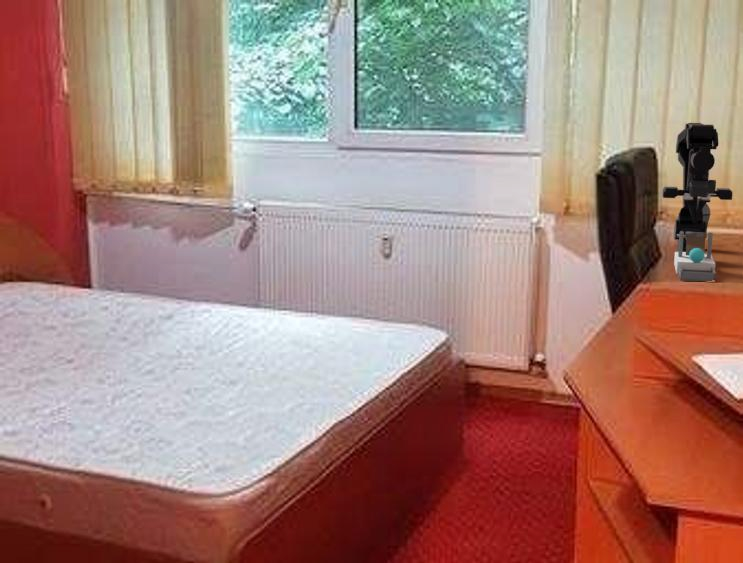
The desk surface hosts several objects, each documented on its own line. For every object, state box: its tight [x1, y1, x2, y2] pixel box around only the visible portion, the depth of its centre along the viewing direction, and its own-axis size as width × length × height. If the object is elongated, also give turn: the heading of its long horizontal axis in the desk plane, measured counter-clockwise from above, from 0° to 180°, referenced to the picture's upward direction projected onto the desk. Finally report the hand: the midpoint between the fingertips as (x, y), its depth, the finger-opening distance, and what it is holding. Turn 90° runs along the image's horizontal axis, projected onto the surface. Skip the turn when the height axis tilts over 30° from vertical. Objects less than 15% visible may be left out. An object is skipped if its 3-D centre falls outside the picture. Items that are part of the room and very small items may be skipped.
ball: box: [689, 248, 704, 262], centre depth 260 cm, size 4×4×4 cm
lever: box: [685, 232, 708, 255], centre depth 268 cm, size 5×6×7 cm
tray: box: [678, 266, 717, 282], centre depth 255 cm, size 9×9×2 cm
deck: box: [673, 231, 716, 275], centre depth 267 cm, size 17×10×11 cm, turn 165°
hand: (694, 223), depth 269 cm, fingers closed
